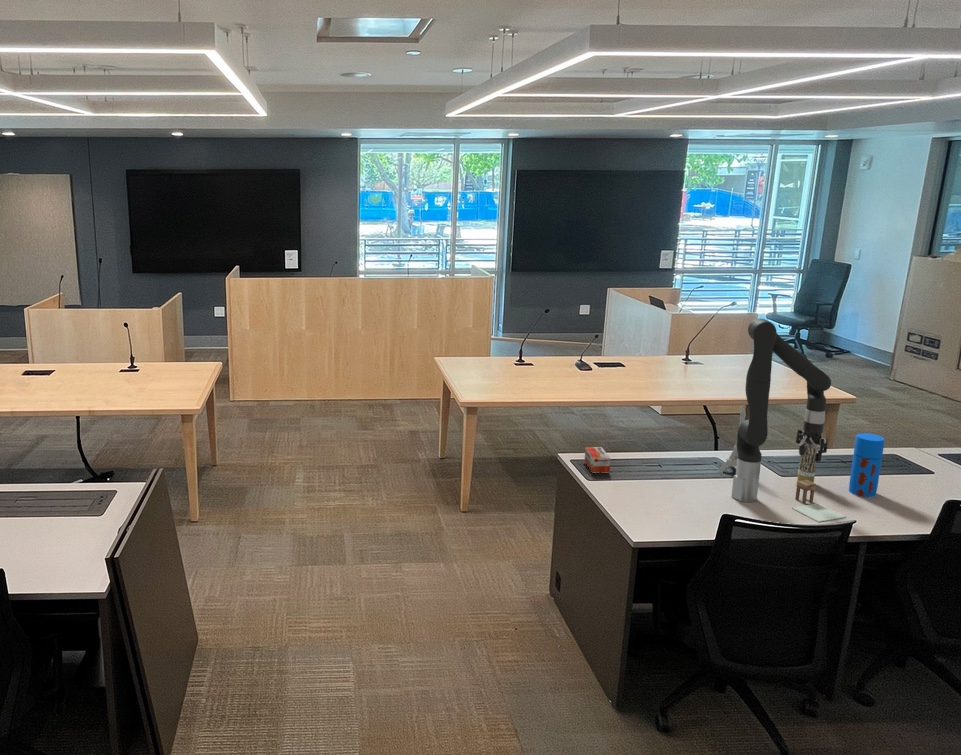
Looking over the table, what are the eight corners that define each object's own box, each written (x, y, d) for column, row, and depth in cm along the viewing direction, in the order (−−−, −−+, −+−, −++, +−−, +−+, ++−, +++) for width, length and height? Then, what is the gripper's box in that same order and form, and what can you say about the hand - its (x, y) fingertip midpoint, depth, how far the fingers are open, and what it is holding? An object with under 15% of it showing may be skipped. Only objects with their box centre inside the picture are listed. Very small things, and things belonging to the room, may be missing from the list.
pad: (818, 522, 294) (818, 521, 294) (792, 508, 307) (792, 507, 306) (845, 517, 299) (846, 516, 299) (818, 504, 312) (818, 503, 311)
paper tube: (799, 478, 340) (806, 425, 334) (815, 482, 336) (822, 428, 330) (794, 482, 335) (801, 428, 329) (810, 486, 331) (818, 432, 325)
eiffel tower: (716, 472, 346) (723, 408, 339) (728, 464, 356) (735, 403, 349) (745, 479, 338) (752, 414, 331) (756, 471, 348) (763, 408, 341)
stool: (803, 503, 312) (806, 485, 310) (794, 499, 316) (797, 481, 314) (813, 502, 314) (815, 483, 312) (804, 497, 318) (806, 479, 316)
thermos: (853, 486, 333) (861, 431, 327) (879, 493, 325) (888, 437, 319) (844, 492, 325) (852, 436, 319) (870, 499, 318) (879, 442, 312)
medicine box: (609, 474, 341) (610, 457, 339) (592, 474, 340) (593, 457, 338) (600, 462, 355) (601, 446, 353) (583, 463, 354) (584, 446, 352)
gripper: (794, 416, 312) (789, 453, 316) (820, 426, 299) (815, 464, 303) (808, 414, 315) (803, 451, 318) (835, 424, 302) (830, 462, 306)
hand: (809, 458), depth 311 cm, fingers open, 8 cm apart
